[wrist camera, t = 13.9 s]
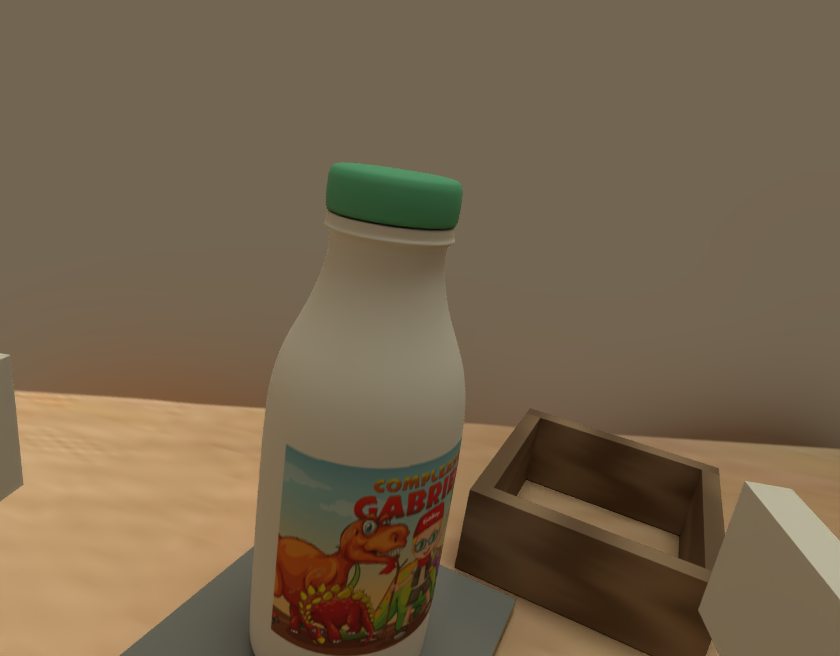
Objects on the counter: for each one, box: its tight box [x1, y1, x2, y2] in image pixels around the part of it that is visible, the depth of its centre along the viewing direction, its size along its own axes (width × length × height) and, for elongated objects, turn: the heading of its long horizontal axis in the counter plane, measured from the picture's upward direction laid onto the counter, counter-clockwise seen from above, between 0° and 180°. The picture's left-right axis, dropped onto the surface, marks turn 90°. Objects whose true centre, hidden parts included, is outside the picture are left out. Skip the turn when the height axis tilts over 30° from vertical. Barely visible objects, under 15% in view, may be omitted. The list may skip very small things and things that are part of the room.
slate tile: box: [120, 547, 516, 656], centre depth 25 cm, size 13×13×1 cm
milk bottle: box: [250, 163, 465, 656], centre depth 22 cm, size 8×8×20 cm
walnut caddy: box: [455, 409, 725, 656], centre depth 33 cm, size 12×12×5 cm
